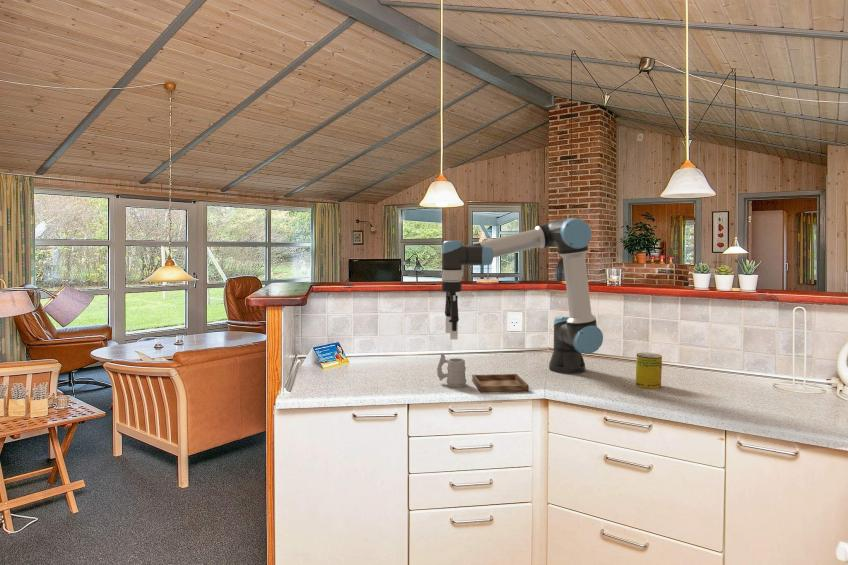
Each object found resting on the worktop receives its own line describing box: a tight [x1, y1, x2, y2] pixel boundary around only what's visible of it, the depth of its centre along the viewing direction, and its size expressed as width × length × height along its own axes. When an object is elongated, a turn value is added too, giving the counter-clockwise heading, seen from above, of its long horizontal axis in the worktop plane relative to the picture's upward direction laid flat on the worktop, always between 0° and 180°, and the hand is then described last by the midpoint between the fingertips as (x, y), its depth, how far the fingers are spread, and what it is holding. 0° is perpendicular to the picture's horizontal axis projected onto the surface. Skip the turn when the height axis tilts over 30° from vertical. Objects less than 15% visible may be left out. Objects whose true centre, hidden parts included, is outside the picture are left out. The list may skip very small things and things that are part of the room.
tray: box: [471, 373, 530, 394], centre depth 212 cm, size 18×17×2 cm
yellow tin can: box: [635, 352, 663, 390], centre depth 212 cm, size 9×9×12 cm
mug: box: [436, 352, 467, 388], centre depth 214 cm, size 8×12×12 cm, turn 67°
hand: (451, 336), depth 213 cm, fingers open, 13 cm apart
